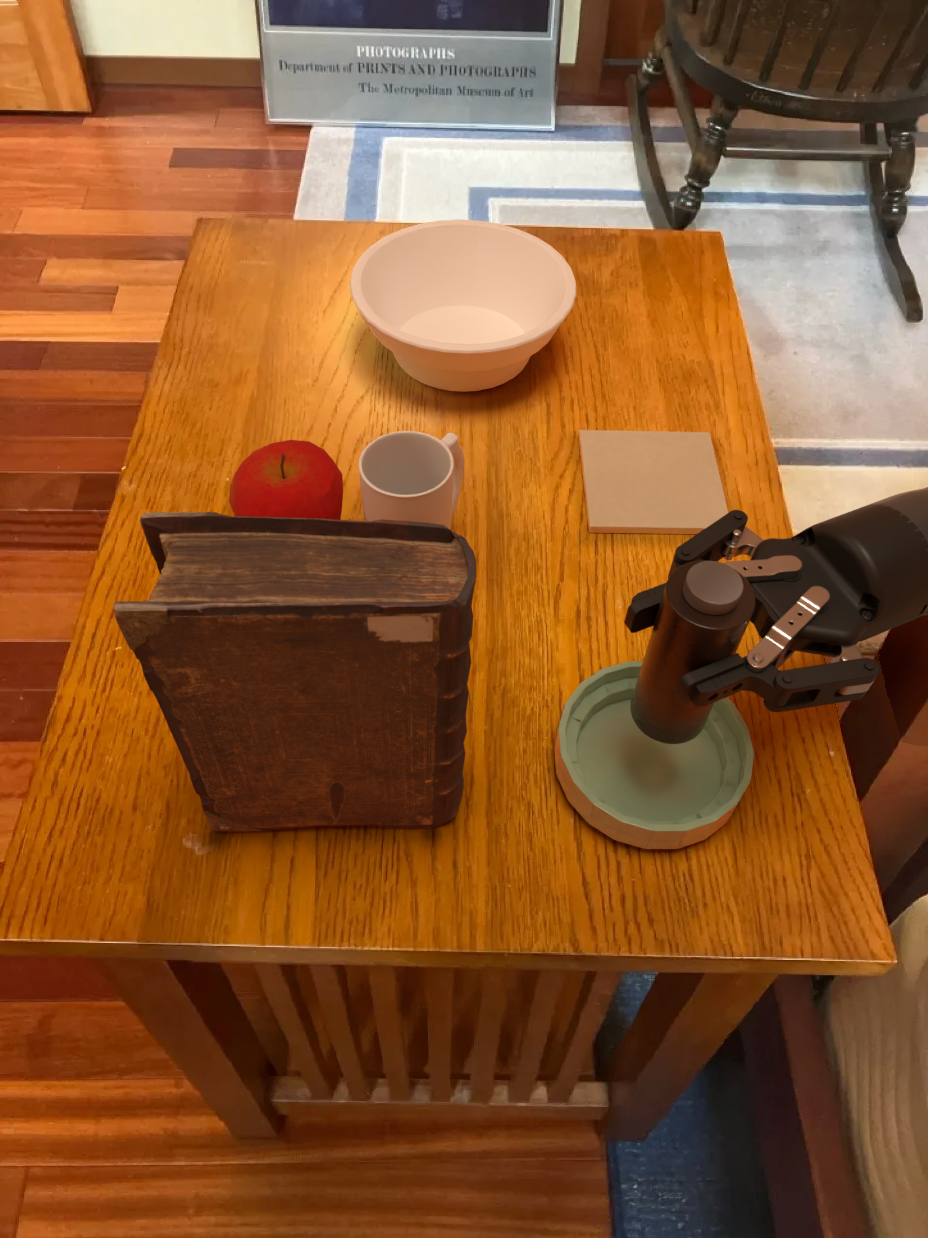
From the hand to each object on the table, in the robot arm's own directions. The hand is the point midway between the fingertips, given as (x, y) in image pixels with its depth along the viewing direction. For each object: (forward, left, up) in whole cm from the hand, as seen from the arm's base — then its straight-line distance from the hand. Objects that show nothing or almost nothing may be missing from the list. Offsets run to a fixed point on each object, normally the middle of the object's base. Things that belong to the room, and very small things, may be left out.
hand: (655, 654), depth 52 cm
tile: (+12, -27, -15) cm, 33 cm away
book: (+14, +12, -15) cm, 24 cm away
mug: (+23, -8, -15) cm, 29 cm away
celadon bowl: (-1, -2, -15) cm, 16 cm away
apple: (+31, -2, -15) cm, 34 cm away
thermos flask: (-1, -2, -8) cm, 8 cm away
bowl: (+36, -32, -15) cm, 51 cm away
